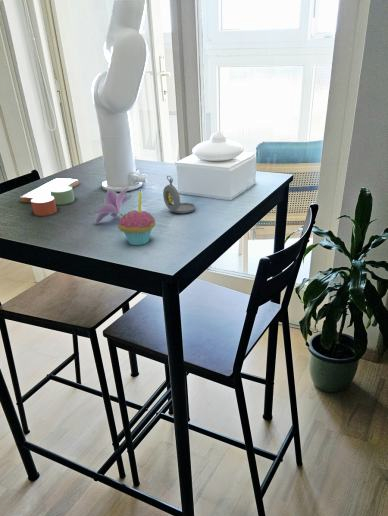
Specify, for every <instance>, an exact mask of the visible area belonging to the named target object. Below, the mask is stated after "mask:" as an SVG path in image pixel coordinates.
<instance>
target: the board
mask: <svg viewBox="0 0 388 516" xmlns="http://www.w3.org/2000/svg"><path fill="white" fill-rule="evenodd" d="M79 184H80V183H79V179H76V178H60V177H57V178H54V179H53V180H51V181H49V182H46V183H45V184H43V185H41V186H39V187H37V188H35V189H33V190H31V191H29V192H27V193H25V194H23V195H21V196H20V197H19V199H20V200H19V201H20V203H26V204H27V203H28V204H31V199H33V198H35V197H39V196H51V193H50V189H52V188H54V187H57V186H71V187H72V189H73V188H75V187H76V186H78V185H79Z"/></svg>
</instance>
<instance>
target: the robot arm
mask: <svg viewBox="0 0 388 516" xmlns="http://www.w3.org/2000/svg"><path fill="white" fill-rule="evenodd" d="M1 1H2V0H0V2H1ZM146 10H147V0H113V4H112V10H111V17H110V20H109V25H108V29H107V33H106V36H105V40H104V45H103V52H104V56H105V58H106V60H107V62H108V63H109V64H108V68H107V71H103V72H100V73H99V74H97V76H96V77H95V78H94V80H93V82H92V85H91V86H92V87H91V95H92V101H93V105H94V110H95V114H96V119H97V126H98V131H99V132H98V133H99V138H100V139H99V140H100V146H101V152H102V158H103V159H102V160H103V167H104V173H105V181H103V182H102V183H101V187H102V189H103V190H104V191H106V192H107V191H108V190H109V189H111V190H113V191H115V192H116V193H120V192H121V191H123V190H124V189H125V188H127V187H129V188H128V190H127V192H129V191H134V190H137V189H140V188H142V186H143V184H147V183H149V177H148V175H147V174H140V169H137V167H136V159H135V149H134V140H133V127H132V122H131V115H130V111H131V110H132V109H133V108H134V106H135V104H136V103H137V100H138V97H139V94H140V91H141V87H142V84H143V79H144V75H145V72H146V68H147V64H148V59H149V47H148V43H147V41H146V39H145V37H144V35H143V34H142V30H143V26H144V21H145V15H146Z"/></svg>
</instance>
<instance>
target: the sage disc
mask: <svg viewBox="0 0 388 516" xmlns="http://www.w3.org/2000/svg"><path fill="white" fill-rule="evenodd" d="M50 193H51V196H53V197H54V198H55V203H56V206H57V205H59V206H61V205H69V204H72V203H74V201H75V196H74V190H73V188H72V187H71V186H57V187H54V188H52V189H50Z"/></svg>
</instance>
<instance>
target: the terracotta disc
mask: <svg viewBox="0 0 388 516" xmlns="http://www.w3.org/2000/svg"><path fill="white" fill-rule="evenodd" d="M30 205H31V208H32V213H33V215H34V216H38V217H45V216H50V215H53V214H55V213H57V212H58V209H57V204H56V203H55V198H54V197H53V196H39V197H35V198H33V199H31V203H30Z"/></svg>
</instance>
